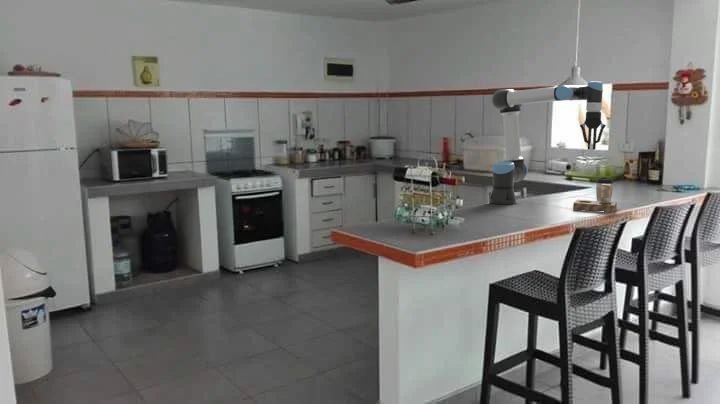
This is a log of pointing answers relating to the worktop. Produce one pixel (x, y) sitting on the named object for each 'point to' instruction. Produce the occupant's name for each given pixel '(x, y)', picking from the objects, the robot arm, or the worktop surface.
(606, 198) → the leg
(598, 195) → the coffee cup
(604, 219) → the worktop surface
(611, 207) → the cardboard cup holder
